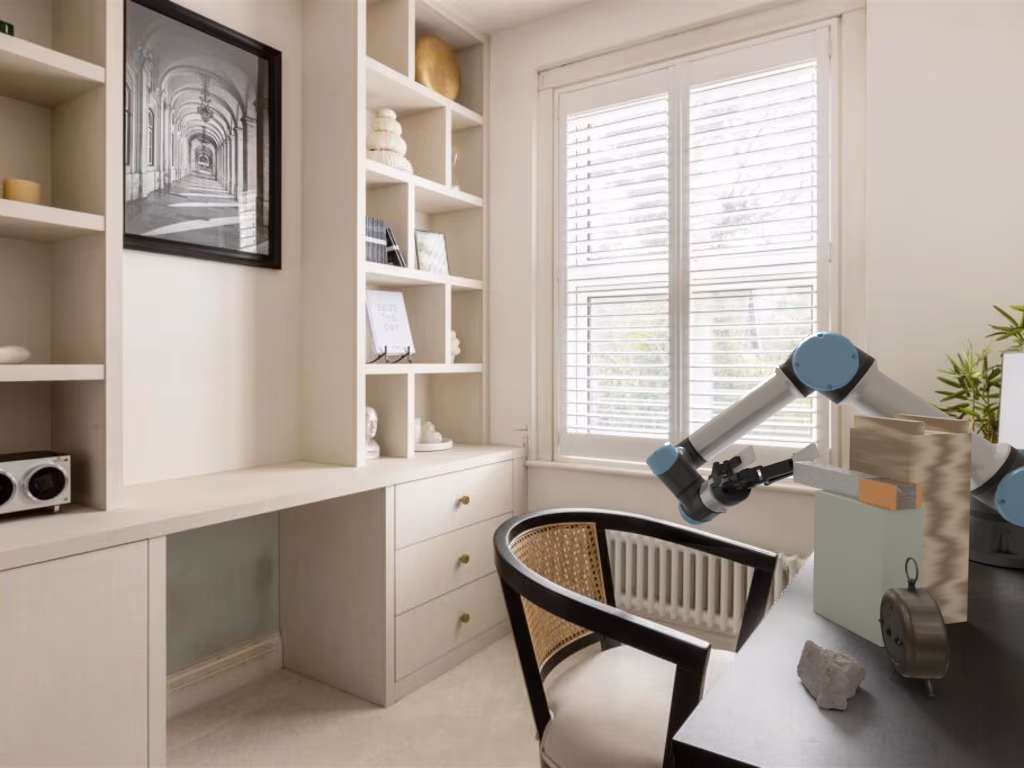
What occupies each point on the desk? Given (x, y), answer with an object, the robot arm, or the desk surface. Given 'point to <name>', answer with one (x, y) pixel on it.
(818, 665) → the stone
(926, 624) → the alarm clock
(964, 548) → the stand
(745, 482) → the robot arm
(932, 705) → the desk surface
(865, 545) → the pale green block
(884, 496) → the grey long bar
